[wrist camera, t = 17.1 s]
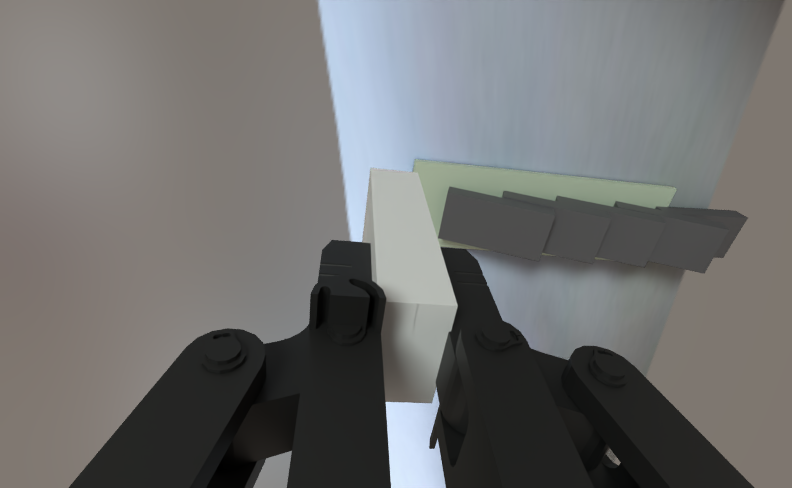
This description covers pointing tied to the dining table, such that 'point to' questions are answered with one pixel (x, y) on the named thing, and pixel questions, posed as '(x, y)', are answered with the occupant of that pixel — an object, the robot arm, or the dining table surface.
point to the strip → (528, 188)
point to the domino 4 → (684, 239)
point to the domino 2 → (570, 228)
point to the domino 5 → (727, 217)
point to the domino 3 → (626, 233)
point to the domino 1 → (496, 223)
